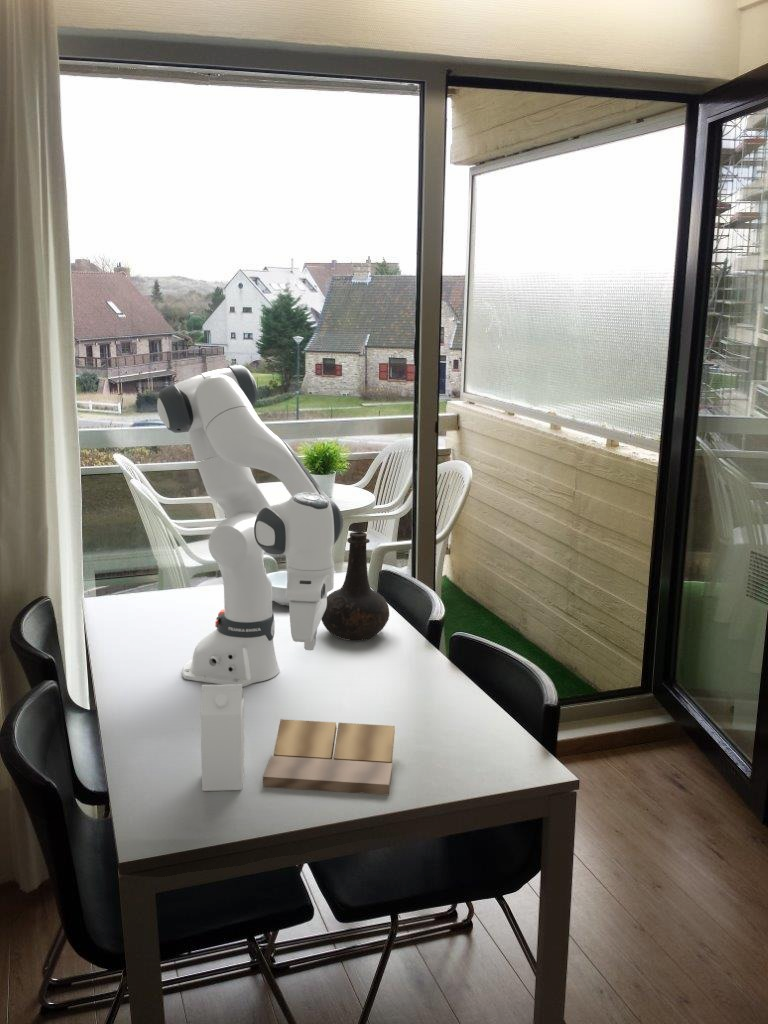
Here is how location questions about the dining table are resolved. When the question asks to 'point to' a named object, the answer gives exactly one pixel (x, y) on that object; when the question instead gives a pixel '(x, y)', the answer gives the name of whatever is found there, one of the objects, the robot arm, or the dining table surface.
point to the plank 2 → (364, 742)
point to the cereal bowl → (279, 587)
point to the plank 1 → (305, 739)
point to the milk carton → (222, 737)
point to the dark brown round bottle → (356, 599)
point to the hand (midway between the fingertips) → (310, 647)
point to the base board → (328, 775)
